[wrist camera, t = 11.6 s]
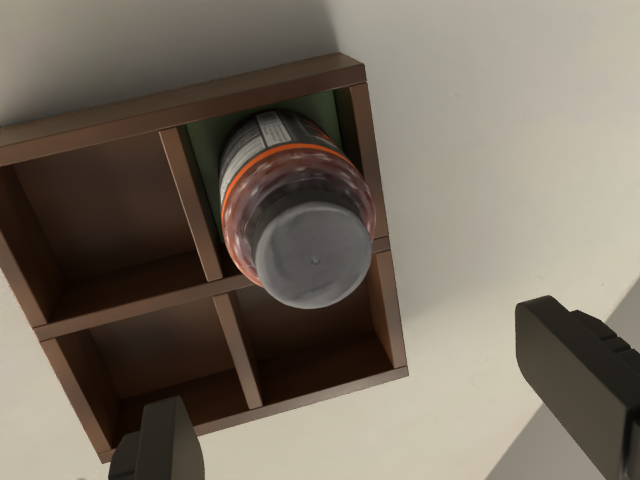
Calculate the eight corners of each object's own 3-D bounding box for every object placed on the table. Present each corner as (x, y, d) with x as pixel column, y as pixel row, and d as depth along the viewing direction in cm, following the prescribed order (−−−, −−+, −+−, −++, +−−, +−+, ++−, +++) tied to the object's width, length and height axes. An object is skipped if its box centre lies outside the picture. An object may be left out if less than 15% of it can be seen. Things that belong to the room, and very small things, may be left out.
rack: (-17, 131, 25) (-58, 159, 21) (340, 51, 27) (364, 63, 23) (114, 405, 33) (101, 464, 29) (384, 330, 35) (409, 376, 31)
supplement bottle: (353, 168, 29) (435, 265, 19) (268, 237, 30) (302, 366, 20) (283, 78, 26) (334, 136, 16) (191, 156, 27) (185, 258, 17)
